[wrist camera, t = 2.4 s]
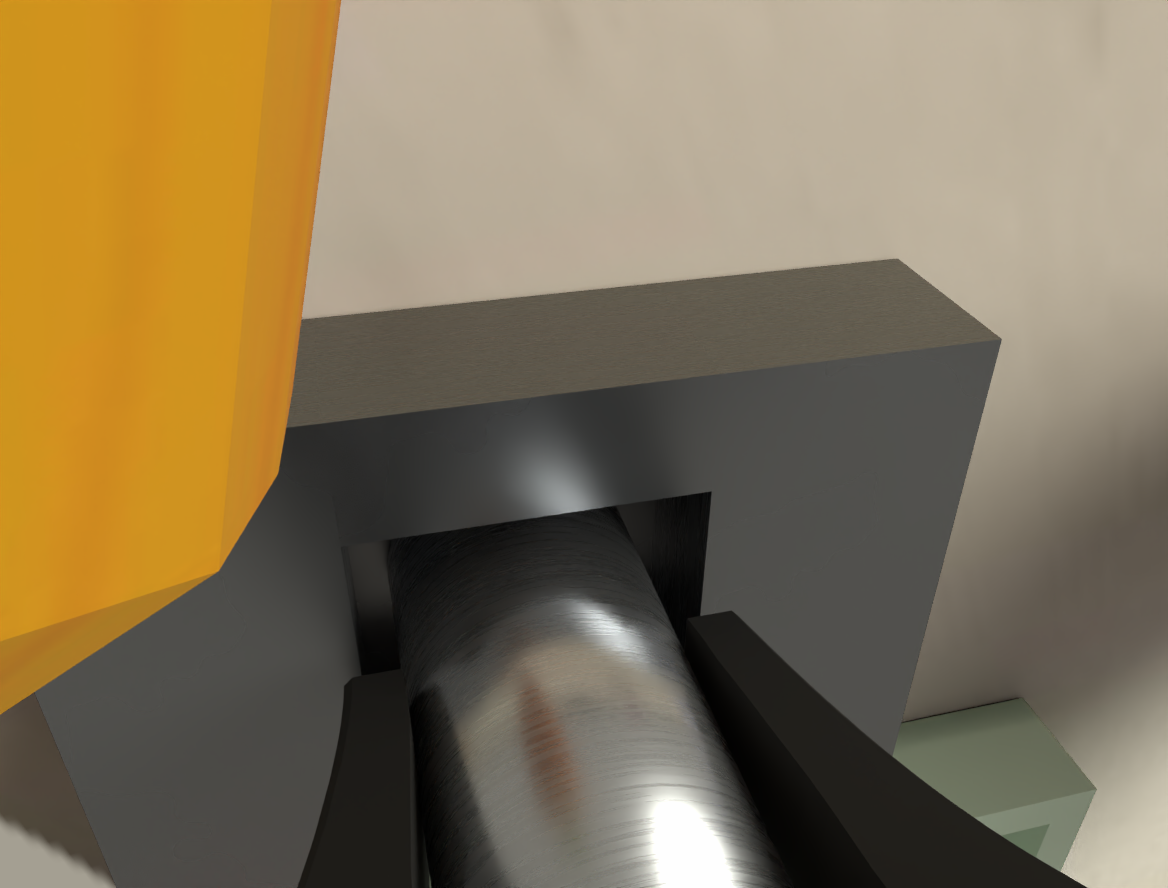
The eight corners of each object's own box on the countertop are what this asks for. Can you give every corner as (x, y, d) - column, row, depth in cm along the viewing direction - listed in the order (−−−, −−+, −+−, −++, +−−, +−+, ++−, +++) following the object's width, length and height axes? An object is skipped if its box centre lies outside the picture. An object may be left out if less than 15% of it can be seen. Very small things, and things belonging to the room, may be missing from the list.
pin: (626, 441, 15) (904, 968, 8) (619, 623, 17) (839, 1165, 10) (374, 475, 14) (459, 1086, 7) (399, 662, 16) (483, 1273, 9)
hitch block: (897, 258, 15) (1001, 339, 13) (823, 654, 19) (890, 763, 17) (-2, 351, 12) (-60, 470, 10) (152, 781, 17) (133, 927, 14)
